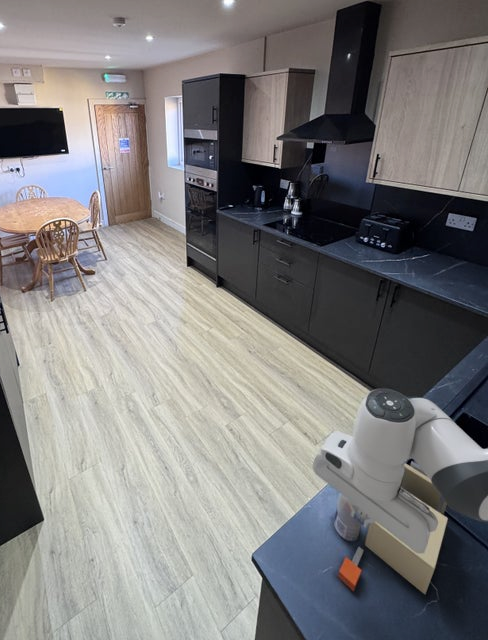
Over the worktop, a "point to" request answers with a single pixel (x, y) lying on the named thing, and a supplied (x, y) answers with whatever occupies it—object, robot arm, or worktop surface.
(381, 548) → the tan cardboard carton
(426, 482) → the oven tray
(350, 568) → the orange stamp with handle
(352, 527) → the energy drink
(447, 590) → the worktop surface
